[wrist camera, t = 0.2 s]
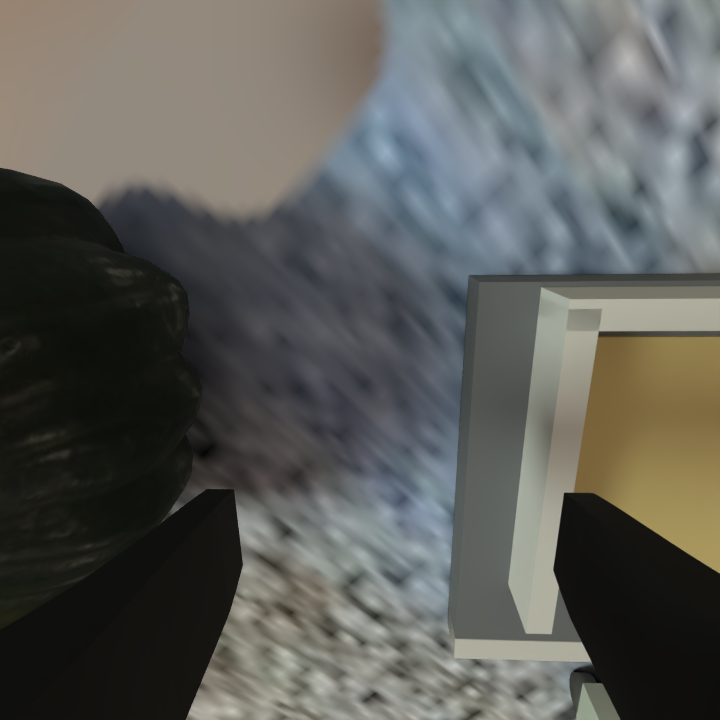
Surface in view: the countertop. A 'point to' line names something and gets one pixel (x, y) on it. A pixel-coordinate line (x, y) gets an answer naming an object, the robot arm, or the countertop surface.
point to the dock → (577, 439)
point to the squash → (82, 393)
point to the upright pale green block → (590, 698)
